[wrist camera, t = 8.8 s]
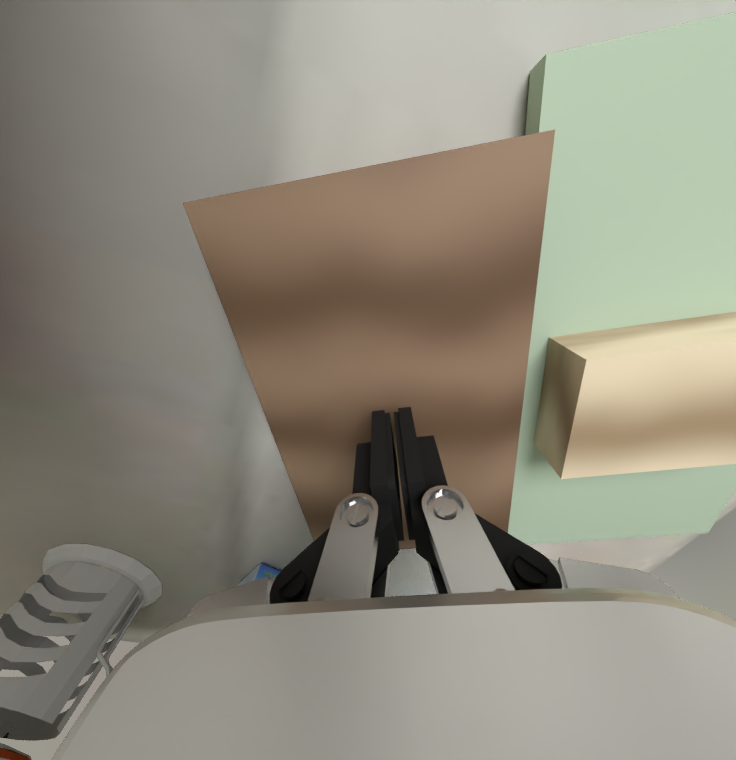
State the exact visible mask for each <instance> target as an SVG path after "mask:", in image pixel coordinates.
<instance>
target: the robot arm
mask: <svg viewBox="0 0 736 760" xmlns="http://www.w3.org/2000/svg"><path fill="white" fill-rule="evenodd" d="M394 422H395V432H396V442H397V453H398V463H399V473H400V482H401V490H402V497H403V503H404V510H405V517H406V523H407V530H408V537H409V540H415V544H416V552H417V553H418V554H419V555H420V556H422V557H423V558H424V559H425V560H426V561H428V566H429V570H430V573H431V576H432V580H433V583H434V586H435V590H436V593H437V594H433V595H414V596H395V597H388V589H389V579H390V562H391V561H392V560H393V559H394V558H395V556H396V555H397V554H398V551H399V541H404V531H403V520H402V509H401V498H400V487H399V476H398V466H397V458H396V451H395V444H394V438H393V431H392V425H391V418H390V413H385V410H378V411H372V421H371V442H366V443H357V447H356V458H355V469H354V480H353V491H352V495H349V496H347V497H346V498H344V499H343V500H342V501H341V502H340V503H339V504H338V506H337V508H336V510H335V513H334V517H333V520H332V523H331V526H330V527H329V528H328V529H327V530H326V531H325V532H324V533H323V534H322V535H320V536H319V537H318V538H317V539H316V540H315V541H314V542H313V543H312V544H310V545H309V546H308V547H307V548H306V549H305V550H304V551H303V552H302V553H300V554H299V555H298V556H297V557H296V558H295V559H294V560H293V561H292V562H291V563H289V564H288V565H287V566H286V567H285V568H284V569H283V570H282V571H281V572H280V573H279V574H278V575H277V577H275V578H272V579H270V578H269V576H267V577H264V578H260V579H257V580H254V581H251V582H248V583H245V584H242V585H239V586H235V587H232V588H229V589H226V590H223V591H220V592H217V593H214V594H210V595H208V596H206V597H204V598H202V599H201V600H200V601H199V602H198V603H196V604H195V605H194V606H193V607H192V609H191V610H190V611H189V613H188V614H187V616H186V618H185V619H184V620H182V621H179V622H177V623H175V624H172V625H170V626H168V627H167V628H165V629H163V630H161V631H159V632H157V633H155V634H154V635H152V636H151V637H149V638H147V639H146V640H144V641H143V642H141V643H140V644H139V645H137V646H136V647H135V648H134V649H132V650H131V651H130V652H129V653H128V654H127V655H126V656H125V657H124V658H123V659H122V660H121V661H120V662H119V663H118V664H117V665H116V666H115V668H114V669H113V670H112V671H111V672H110V674H109V675H108V676H107V677H106V679H105V680H104V681H103V683H102V684H101V685H100V687H99V688H98V690H97V691H96V692H95V694H94V695H93V697H92V698H91V700H90V701H89V703H88V704H87V706H86V707H85V708H84V710H83V711H82V713H81V714H80V716H79V717H78V719H77V720H76V722H75V724H74V725H73V726H72V728H71V730H70V731H69V733H68V734H67V736H66V737H65V739H64V740H63V742H62V743H61V745H60V746H59V748H58V750H57V751H56V753H55V754H54V756H53V758H52V760H736V619H734V618H731V617H729V616H727V615H725V614H722V613H720V612H717V611H715V610H712V609H710V608H707V607H704V606H701V605H698V604H695V603H692V602H689V601H686V600H683V599H680V598H679V596H678V595H677V594H676V592H675V591H674V590H673V589H671V587H669V586H668V585H667V584H666V583H665V582H663V581H662V580H660V579H658V578H657V577H655V576H653V575H651V574H650V573H647V572H643V571H640V570H636V569H630V568H623V567H617V566H611V565H604V564H598V563H592V562H585V561H579V560H573V559H566V558H560V557H559V560H558V561H556V560H550V559H548V558H546V557H545V556H544V555H542V554H541V553H540V552H538V551H537V550H535V549H533V548H532V547H530V546H528V545H527V544H525V543H523V542H522V541H520V540H518V539H517V538H515V537H513V536H512V535H510V534H508V533H507V532H505V531H503V530H502V529H500V528H498V527H497V526H495V525H494V524H492V523H490V522H489V521H487V520H485V519H484V518H482V517H480V516H479V515H477V514H475V513H474V512H473V510H472V508H471V506H470V504H469V502H468V500H467V499H466V497H465V496H464V494H463V493H461V492H460V491H459V490H458V489H455V488H453V487H451V486H448V484H447V481H446V477H445V474H444V470H443V466H442V463H441V459H440V456H439V452H438V449H437V445H436V442H435V438H434V436H433V435H431V436H422V437H417V436H416V431H415V426H414V421H413V416H412V411H411V407H404V408H398V412H394Z"/></svg>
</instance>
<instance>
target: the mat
mask: <svg viewBox="0 0 736 760" xmlns="http://www.w3.org/2000/svg"><path fill="white" fill-rule="evenodd" d="M550 130H555V136H554V145H553V153H552V162H551V170H550V179H549V187H548V196H547V204H546V213H545V221H544V230H543V238H542V247H541V255H540V264H539V272H538V281H537V289H536V298H535V306H534V315H533V323H532V332H531V340H530V349H529V357H528V366H527V374H526V383H525V391H524V400H523V408H522V417H521V425H520V434H519V442H518V450H517V459H516V467H515V476H514V484H513V493H512V501H511V510H510V518H509V527H508V534H510V535H512V536H513V537H515V538H517V539H518V540H520V541H522V542H523V543H525V544H539V543H555V542H571V541H587V540H603V539H619V538H635V537H651V536H667V535H682V534H698V533H708V532H709V530H710V529H711V527H712V526H713V524H714V522H715V521H716V519H717V518H718V516H719V515H720V513H721V511H722V510H723V508H724V507H725V505H726V503H727V502H728V500H729V499H730V497H731V496H732V494H733V492H734V491H735V489H736V464H728V465H717V466H706V467H694V468H683V469H672V470H660V471H649V472H637V473H626V474H615V475H603V476H592V477H581V478H569V479H560V477H559V476H558V475H557V473H556V472H555V471H554V469H553V468H552V467H551V465H550V464H549V463H548V461H547V460H546V459H545V457H544V456H543V455H542V453H541V452H540V451H539V449H538V448H537V446H536V445H535V444H534V439H535V432H536V425H537V417H538V410H539V403H540V396H541V389H542V382H543V375H544V368H545V361H546V354H547V347H548V339H549V337H554V336H561V335H569V334H576V333H583V332H591V331H598V330H605V329H613V328H620V327H627V326H635V325H642V324H649V323H657V322H664V321H671V320H679V319H686V318H693V317H701V316H708V315H715V314H723V313H730V312H736V12H733V13H728V14H724V15H719V16H715V17H710V18H706V19H701V20H697V21H692V22H688V23H683V24H679V25H674V26H670V27H665V28H661V29H656V30H652V31H647V32H643V33H638V34H634V35H630V36H625V37H621V38H616V39H612V40H607V41H603V42H598V43H594V44H589V45H585V46H580V47H576V48H571V49H567V50H562V51H558V52H553V53H549V54H546V55H545V56H544V57H543V58H542V59H541V60H540V61H539V62H538V64H537V65H536V66H535V67H534V68H533V69H532V70H531V71H530V80H529V92H528V105H527V117H526V130H525V135H529V134H534V133H539V132H545V131H550Z"/></svg>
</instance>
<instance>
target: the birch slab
mask: <svg viewBox="0 0 736 760" xmlns="http://www.w3.org/2000/svg"><path fill="white" fill-rule="evenodd" d="M534 444H535V445H536V446H537V448H538V449H539V451H540V452H541V453H542V455H543V456H544V457H545V459H546V460H547V461H548V463H549V464H550V465H551V467H552V468H553V469H554V471H555V472H556V473H557V475H558V476H559V477H560V479H569V478H581V477H592V476H603V475H615V474H626V473H637V472H649V471H660V470H672V469H683V468H694V467H706V466H717V465H728V464H736V312H730V313H723V314H715V315H708V316H701V317H693V318H686V319H679V320H671V321H664V322H657V323H649V324H642V325H635V326H627V327H620V328H613V329H605V330H598V331H591V332H583V333H576V334H569V335H561V336H554V337H549V339H548V347H547V354H546V361H545V368H544V375H543V382H542V389H541V396H540V403H539V410H538V417H537V425H536V432H535V439H534Z"/></svg>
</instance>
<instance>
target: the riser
mask: <svg viewBox="0 0 736 760" xmlns="http://www.w3.org/2000/svg"><path fill="white" fill-rule="evenodd" d="M554 136H555V130H550V131H545V132H539V133H534V134H529V135H524V136H519V137H514V138H509V139H504V140H499V141H494V142H489V143H484V144H479V145H474V146H469V147H464V148H459V149H453V150H448V151H443V152H438V153H433V154H428V155H423V156H418V157H413V158H408V159H403V160H398V161H393V162H388V163H383V164H378V165H372V166H367V167H362V168H357V169H352V170H347V171H342V172H337V173H332V174H327V175H322V176H317V177H312V178H307V179H302V180H297V181H292V182H286V183H281V184H276V185H271V186H266V187H261V188H256V189H251V190H246V191H241V192H236V193H231V194H226V195H221V196H216V197H211V198H205V199H200V200H195V201H190V202H185V203H183V205H184V208H185V210H186V213H187V215H188V218H189V220H190V223H191V226H192V228H193V231H194V233H195V236H196V238H197V241H198V244H199V246H200V249H201V251H202V254H203V256H204V259H205V262H206V264H207V267H208V269H209V272H210V274H211V277H212V280H213V282H214V285H215V287H216V290H217V292H218V295H219V298H220V300H221V303H222V305H223V308H224V310H225V313H226V316H227V318H228V321H229V323H230V326H231V329H232V331H233V334H234V336H235V339H236V341H237V344H238V347H239V349H240V352H241V354H242V357H243V359H244V362H245V365H246V367H247V370H248V372H249V375H250V377H251V380H252V383H253V385H254V388H255V390H256V393H257V395H258V398H259V401H260V403H261V406H262V408H263V411H264V413H265V416H266V419H267V421H268V424H269V426H270V429H271V431H272V434H273V437H274V439H275V442H276V444H277V447H278V449H279V452H280V455H281V457H282V460H283V462H284V465H285V467H286V470H287V473H288V475H289V478H290V480H291V483H292V485H293V488H294V491H295V493H296V496H297V498H298V501H299V503H300V506H301V509H302V511H303V514H304V516H305V519H306V521H307V524H308V527H309V529H310V532H311V534H312V537H313V539H314V541H315V540H316V539H317V538H318V537H319V536H320V535H322V534H323V533H324V532H325V531H326V530H327V529H328V528H329V527H330V526H331V523H332V520H333V517H334V513H335V510H336V508H337V506H338V504H339V503H340V502H341V501H342V500H343V499H344V498H346V497H347V496H349V495H352V491H353V480H354V469H355V458H356V447H357V443H366V442H371V421H372V411H378V410H385V413H390V418H391V425H392V431H393V438H394V444H395V451H396V458H397V466H398V476H399V487H400V498H401V509H402V520H403V531H404V541H399V549H411V548H416V544H415V540H409V537H408V530H407V523H406V517H405V510H404V503H403V497H402V490H401V482H400V473H399V463H398V453H397V442H396V432H395V422H394V412H398V408H404V407H411V411H412V416H413V421H414V426H415V431H416V436H417V437H422V436H431V435H433V436H434V438H435V442H436V445H437V449H438V452H439V456H440V459H441V463H442V466H443V470H444V474H445V477H446V481H447V484H448V486H451V487H453V488H455V489H458V490H459V491H460V492H461V493H463V494H464V496H465V497H466V499H467V500H468V502H469V504H470V506H471V508H472V510H473V512H474V513H475V514H477V515H479V516H480V517H482V518H484V519H485V520H487V521H489V522H490V523H492V524H494V525H495V526H497V527H498V528H500V529H502V530H503V531H505V532H507V533H508V527H509V518H510V510H511V501H512V493H513V484H514V476H515V467H516V459H517V450H518V442H519V434H520V425H521V417H522V408H523V400H524V391H525V383H526V374H527V366H528V357H529V349H530V340H531V332H532V323H533V315H534V306H535V298H536V289H537V281H538V272H539V264H540V255H541V247H542V238H543V230H544V221H545V213H546V204H547V196H548V187H549V179H550V170H551V162H552V153H553V145H554Z"/></svg>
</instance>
